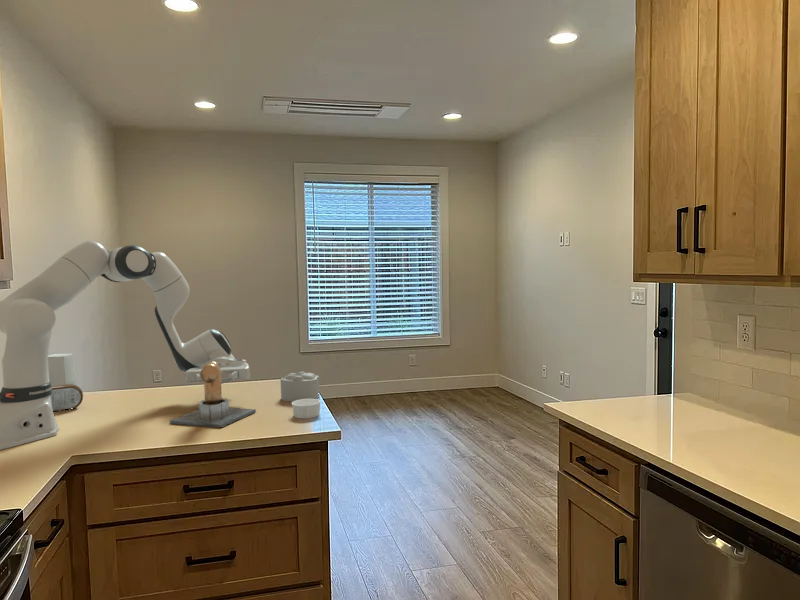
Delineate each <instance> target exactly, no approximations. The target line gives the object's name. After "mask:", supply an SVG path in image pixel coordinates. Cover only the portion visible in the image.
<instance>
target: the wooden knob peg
mask: <svg viewBox="0 0 800 600" xmlns="http://www.w3.org/2000/svg"><path fill="white" fill-rule="evenodd" d="M203 367H204V368H203V369H202V371H201V373H200V376H201V379H202V380H203V381H202V382H203V384H204V385H203V388H204V391H203V392H204V400H205V404H207V405H212V404H220V403H222V399H223V396H222V395H223V394H222V393H223V391H222V384H221V367H220V365H219V364H218V363H217V362H213V361H212V362H211V361H209V362H207V363H205V364H204V366H203Z"/></svg>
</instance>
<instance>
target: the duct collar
mask: <svg viewBox="0 0 800 600" xmlns="http://www.w3.org/2000/svg"><path fill="white" fill-rule="evenodd" d="M256 409H257V408H256ZM256 409H255V408H243V407H230V402H229V400H228V399H227V398H222V403H220V404H212V405H207V404H205V399H204V400H201V401H199V402H198V409H196V410H193V411H191V412H188V413H185V414H182V415H180V416H179V417H176V418H173V419H169V424H171V425H179V424H181V425H180V426H190V425H193V426H194V427H202V426H206V427H205V428H213V427H222V428H224V427H223V426H225V425H227V424H229V425H231V424H233V423H235V422H234V421H236V420H238V419H240V420H242V419H244V418H243V417H245V416H247V417H249V416H251V415H253V414H255V412H256V413H257V411H256ZM252 413H253V414H252ZM250 414H251V415H250ZM248 415H249V416H248ZM241 418H242V419H241ZM245 418H246V417H245ZM238 421H239V420H238ZM232 422H233V423H232ZM236 422H237V421H236ZM230 423H231V424H230ZM193 426H192V427H193ZM227 426H228V425H227ZM225 427H226V426H225Z"/></svg>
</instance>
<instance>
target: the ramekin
mask: <svg viewBox="0 0 800 600" xmlns="http://www.w3.org/2000/svg"><path fill="white" fill-rule="evenodd" d="M320 406H321V400H320V399H319V398H318V399H300V400H296V401H293V402H291V407H292V413H293V414H292V415H293V416H294V418H296V419H301V420H304V419H313V418H316V417H318V416H320V408H321V407H320Z"/></svg>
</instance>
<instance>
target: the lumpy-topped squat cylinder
mask: <svg viewBox="0 0 800 600" xmlns="http://www.w3.org/2000/svg"><path fill="white" fill-rule="evenodd" d="M318 393H319V394H318ZM319 397H320V376H319V375H316V374H315V373H313V372H306V371H299V372H298V373H296V372H291V373H289V374H287V375H286V376H283V377H281V378H280V400H281V399H282V400H281V401H284V400H285V401H284V402H289V401H291V402H290V403H292V402H293V401H296V400H300V399H318V400H319Z"/></svg>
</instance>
